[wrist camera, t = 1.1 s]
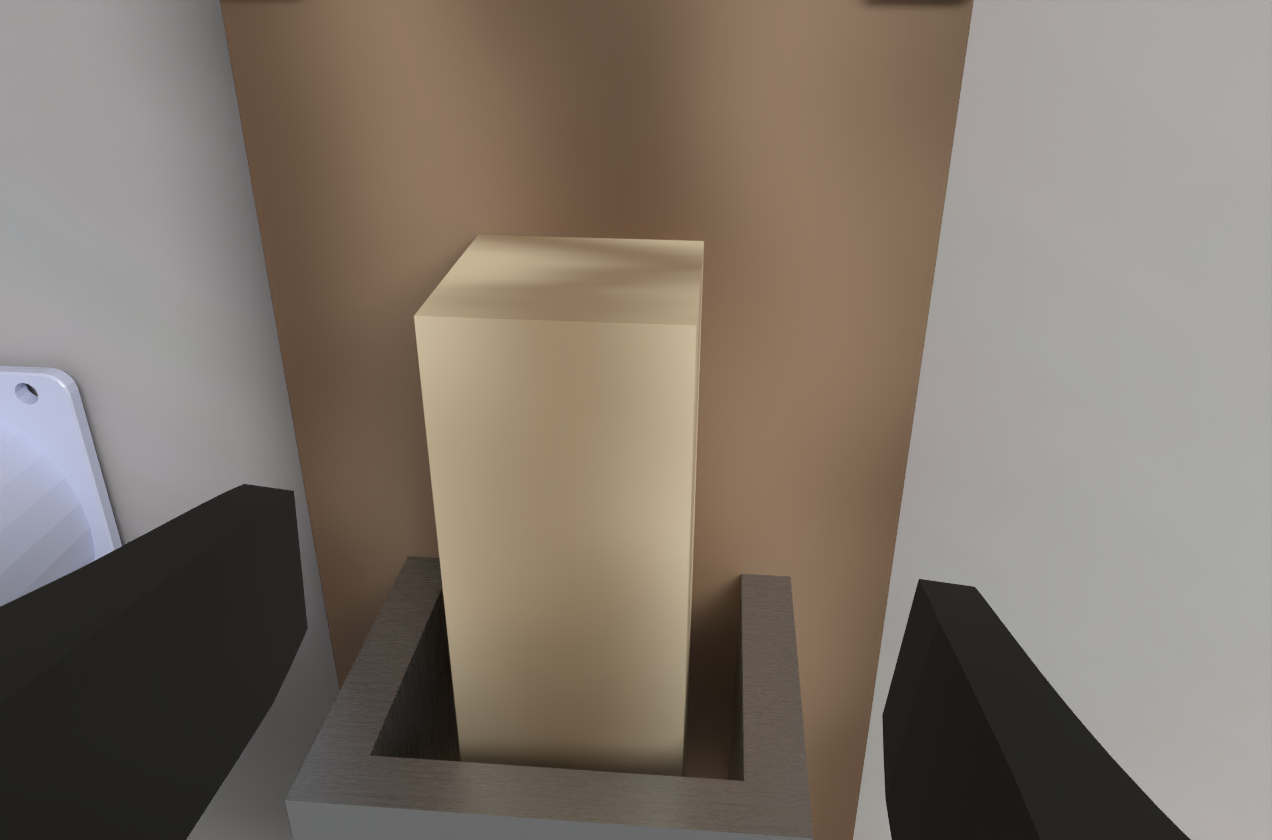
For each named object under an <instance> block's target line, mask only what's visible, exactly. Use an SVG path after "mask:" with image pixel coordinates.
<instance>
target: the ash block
mask: <svg viewBox="0 0 1272 840" xmlns="http://www.w3.org/2000/svg"><path fill="white" fill-rule="evenodd" d="M703 254H704V241H685V240H649V239H612V238H576V237H539V236H502V235H477V237H476V238H475V239H474V241H473V242H472V243H471V244H470V246H469V247H468V248H467V249H466V251H465V252H464V253H463V254H462V256H461V257H460V258H459V259H458V261H457V262H456V263H455V265H454V266H453V267H452V268H451V270H450V271H449V272H448V273H447V275H446V276H445V277H444V278H443V280H442V281H441V282H440V284H439V285H438V286H437V287H436V289H435V290H434V291H433V292H432V294H431V295H430V296H429V297H428V299H427V300H426V301H425V302H424V304H423V305H422V306H421V308H420V309H419V310H418V311H417V313H416V314H415V315H414V322H415V332H416V341H417V351H418V360H419V370H420V379H421V389H422V398H423V407H424V417H425V426H426V436H427V445H428V455H429V464H430V474H431V483H432V492H433V502H434V511H435V521H436V530H437V540H438V549H439V558H440V568H441V577H442V587H443V596H444V606H445V615H446V625H447V634H448V643H449V653H450V662H451V672H452V681H453V691H454V700H455V710H456V719H457V728H458V738H459V747H460V757H461V762H472V763H487V764H501V765H516V766H531V767H545V768H560V769H574V770H589V771H604V772H618V773H633V774H648V775H662V776H677V777H686V757H687V727H688V698H689V668H690V639H691V609H692V579H693V550H694V520H695V491H696V461H697V432H698V402H699V372H700V343H701V313H702V284H703Z"/></svg>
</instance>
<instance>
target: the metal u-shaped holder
mask: <svg viewBox="0 0 1272 840" xmlns="http://www.w3.org/2000/svg"><path fill="white" fill-rule="evenodd" d="M285 804H286V809H287V813H288V818H289V822H290V827H291V831H292V836H293V840H813V830H812V818H811V807H810V795H809V784H808V772H807V760H806V749H805V737H804V726H803V714H802V703H801V691H800V679H799V668H798V656H797V645H796V633H795V622H794V610H793V599H792V587H791V576H774V575H755V574H741V590H740V607H739V623H738V639H737V656H736V672H735V689H734V705H733V721H732V738H731V754H730V771H729V780H721V779H706V778H691V777H677V776H662V775H648V774H633V773H618V772H604V771H589V770H574V769H560V768H545V767H531V766H516V765H501V764H487V763H472V762H461V757H460V747H459V738H458V728H457V719H456V710H455V700H454V691H453V681H452V672H451V662H450V653H449V643H448V634H447V625H446V615H445V606H444V596H443V587H442V577H441V568H440V558H432V557H413V556H408V557H407V559H406V561H405V563H404V565H403V567H402V569H401V571H400V573H399V575H398V577H397V579H396V581H395V583H394V585H393V587H392V589H391V591H390V593H389V595H388V597H387V599H386V601H385V603H384V605H383V607H382V609H381V610H380V612H379V614H378V616H377V618H376V620H375V622H374V624H373V626H372V628H371V630H370V632H369V634H368V636H367V638H366V640H365V642H364V644H363V646H362V648H361V650H360V652H359V654H358V656H357V658H356V660H355V662H354V664H353V666H352V668H351V670H350V672H349V674H348V676H347V678H346V680H345V682H344V684H343V686H342V688H341V690H340V692H339V694H338V696H337V698H336V700H335V702H334V704H333V706H332V708H331V710H330V711H329V713H328V715H327V717H326V719H325V721H324V723H323V725H322V727H321V729H320V731H319V733H318V735H317V737H316V739H315V741H314V743H313V745H312V747H311V749H310V751H309V753H308V755H307V757H306V759H305V761H304V763H303V765H302V767H301V769H300V771H299V773H298V775H297V777H296V779H295V781H294V783H293V785H292V787H291V789H290V791H289V793H288V795H287V797H286V799H285Z"/></svg>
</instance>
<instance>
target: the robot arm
mask: <svg viewBox="0 0 1272 840" xmlns="http://www.w3.org/2000/svg"><path fill="white" fill-rule="evenodd" d="M26 384H29V385H30V386H32V387H33V388H34V389H35V390H36V392H37V394H38V396H35V395H34V394H32V393H31V392H30V391H29V390H28V388H27V386H26ZM306 631H307V619H306V609H305V599H304V589H303V579H302V569H301V559H300V549H299V539H298V529H297V519H296V509H295V499H294V491H290V490H283V489H275V488H268V487H261V486H254V485H247V484H243V485H241V486H238V487H236V488H234V489H232V490H229V491H227V492H225V493H223V494H221V495H219V496H217V497H215V498H213V499H211V500H209V501H207V502H205V503H203V504H201V505H199V506H197V507H195V508H193V509H191V510H190V511H188V512H186V513H184V514H182V515H180V516H178V517H176V518H174V519H173V520H171V521H169V522H167V523H165V524H163V525H161V526H159V527H158V528H156V529H154V530H152V531H150V532H148V533H146V534H144V535H142V536H141V537H139V538H137V539H135V540H133V541H131V542H129V543H127V544H125V545H123V546H122V544H121V540H120V537H119V533H118V530H117V526H116V522H115V519H114V515H113V512H112V508H111V505H110V501H109V497H108V494H107V490H106V487H105V483H104V479H103V476H102V472H101V469H100V465H99V461H98V458H97V454H96V451H95V447H94V444H93V440H92V436H91V433H90V429H89V426H88V422H87V418H86V415H85V411H84V408H83V404H82V401H81V397H80V393H79V390H78V387H77V385H76V383H75V381H74V380H73V379H72V378H71V377H70V376H69V375H68V374H67V373H65V372H63V371H61V370H59V369H55V368H44V367H18V366H0V840H186V839H187V837H188V836H189V834H190V833H191V831H192V830H193V828H194V826H195V825H196V823H197V822H198V820H199V819H200V817H201V816H202V814H203V813H204V811H205V809H206V808H207V806H208V805H209V803H210V802H211V800H212V799H213V797H214V795H215V794H216V792H217V791H218V789H219V788H220V786H221V785H222V783H223V782H224V780H225V778H226V777H227V775H228V774H229V772H230V771H231V769H232V768H233V766H234V764H235V763H236V761H237V760H238V758H239V757H240V755H241V753H242V752H243V750H244V749H245V747H246V746H247V744H248V742H249V741H250V739H251V738H252V736H253V734H254V733H255V731H256V730H257V728H258V727H259V725H260V723H261V722H262V720H263V719H264V717H265V715H266V714H267V712H268V710H269V709H270V707H271V706H272V704H273V702H274V700H275V698H276V696H277V694H278V692H279V690H280V688H281V686H282V683H283V681H284V679H285V677H286V675H287V673H288V671H289V669H290V667H291V664H292V662H293V660H294V658H295V655H296V653H297V651H298V649H299V646H300V644H301V642H302V640H303V637H304V635H305V633H306ZM883 747H884V774H885V794H886V805H887V811H888V818H889V824H890V830H891V837H892V840H1190V839H1189V838H1188V837H1187V836H1186V835H1185V834H1184V833H1183V832H1182V831H1181V830H1180V829H1179V828H1178V827H1177V826H1176V825H1175V824H1174V823H1173V822H1172V821H1171V820H1170V819H1169V818H1168V817H1167V816H1166V815H1165V814H1164V813H1163V812H1162V811H1161V810H1160V809H1159V808H1158V807H1157V806H1156V805H1155V804H1154V802H1153V801H1152V800H1151V799H1150V798H1149V797H1148V796H1147V795H1146V794H1145V793H1144V792H1143V791H1142V789H1141V788H1140V787H1139V786H1138V785H1137V784H1136V783H1135V782H1134V781H1133V780H1132V779H1131V778H1130V777H1129V775H1128V774H1127V773H1126V772H1125V771H1124V770H1123V769H1122V768H1121V767H1120V766H1119V765H1118V764H1117V762H1116V761H1115V760H1114V759H1113V758H1112V757H1111V756H1110V755H1109V754H1108V752H1107V751H1106V750H1105V749H1104V748H1103V747H1102V746H1101V744H1100V743H1099V742H1098V741H1097V740H1096V739H1095V738H1094V736H1093V735H1092V734H1091V733H1090V732H1089V731H1088V729H1087V728H1086V727H1085V726H1084V725H1083V724H1082V722H1081V721H1080V720H1079V719H1078V718H1077V716H1076V715H1075V714H1074V713H1073V712H1072V710H1071V709H1070V708H1069V707H1068V706H1067V704H1066V703H1065V702H1064V701H1063V699H1062V698H1061V697H1060V696H1059V695H1058V693H1057V692H1056V691H1055V690H1054V688H1053V687H1052V686H1051V685H1050V683H1049V682H1048V681H1047V680H1046V678H1045V677H1044V676H1043V675H1042V673H1041V672H1040V671H1039V670H1038V668H1037V667H1036V666H1035V664H1034V663H1033V662H1032V661H1031V659H1030V658H1029V657H1028V655H1027V654H1026V653H1025V652H1024V650H1023V649H1022V648H1021V646H1020V645H1019V644H1018V642H1017V641H1016V640H1015V638H1014V637H1013V636H1012V635H1011V633H1010V632H1009V631H1008V629H1007V628H1006V627H1005V625H1004V624H1003V623H1002V621H1001V620H1000V619H999V617H998V616H997V615H996V613H995V612H994V611H993V610H992V608H991V607H990V606H989V604H988V603H987V602H986V600H985V599H984V598H983V597H982V595H981V594H980V593H979V591H978V590H977V589H976V588H975V587H972V586H965V585H958V584H951V583H944V582H936V581H929V580H922V579H919V581H918V585H917V588H916V592H915V596H914V600H913V603H912V607H911V611H910V615H909V618H908V622H907V626H906V630H905V633H904V637H903V641H902V645H901V648H900V652H899V656H898V660H897V663H896V667H895V671H894V675H893V678H892V682H891V686H890V690H889V693H888V697H887V701H886V705H885V708H884V712H883Z"/></svg>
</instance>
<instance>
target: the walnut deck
mask: <svg viewBox="0 0 1272 840" xmlns="http://www.w3.org/2000/svg"><path fill="white" fill-rule="evenodd" d="M973 1H974V0H220V3H221V9H222V14H223V20H224V26H225V32H226V37H227V43H228V49H229V55H230V60H231V66H232V72H233V78H234V83H235V89H236V95H237V101H238V107H239V112H240V118H241V124H242V130H243V135H244V141H245V147H246V153H247V158H248V164H249V170H250V176H251V181H252V187H253V193H254V199H255V205H256V210H257V216H258V222H259V228H260V233H261V239H262V245H263V251H264V256H265V262H266V268H267V274H268V279H269V285H270V291H271V297H272V303H273V308H274V314H275V320H276V326H277V331H278V337H279V343H280V349H281V354H282V360H283V366H284V372H285V377H286V383H287V389H288V395H289V401H290V406H291V412H292V418H293V424H294V429H295V435H296V441H297V447H298V452H299V458H300V464H301V470H302V475H303V481H304V487H305V493H306V499H307V504H308V510H309V516H310V522H311V527H312V533H313V539H314V545H315V550H316V556H317V562H318V568H319V573H320V579H321V585H322V591H323V597H324V602H325V608H326V614H327V620H328V625H329V631H330V637H331V643H332V648H333V654H334V660H335V666H336V671H337V677H338V683H339V689H340V690H341V688H342V686H343V684H344V682H345V680H346V678H347V676H348V674H349V672H350V670H351V668H352V666H353V664H354V662H355V660H356V658H357V656H358V654H359V652H360V650H361V648H362V646H363V644H364V642H365V640H366V638H367V636H368V634H369V632H370V630H371V628H372V626H373V624H374V622H375V620H376V618H377V616H378V614H379V612H380V610H381V609H382V607H383V605H384V603H385V601H386V599H387V597H388V595H389V593H390V591H391V589H392V587H393V585H394V583H395V581H396V579H397V577H398V575H399V573H400V571H401V569H402V567H403V565H404V563H405V561H406V559H407V557H408V556H413V557H432V558H439V549H438V540H437V530H436V521H435V511H434V502H433V492H432V483H431V474H430V464H429V455H428V445H427V436H426V426H425V417H424V407H423V398H422V389H421V379H420V370H419V360H418V351H417V341H416V332H415V322H414V315H415V314H416V313H417V311H418V310H419V309H420V308H421V306H422V305H423V304H424V302H425V301H426V300H427V299H428V297H429V296H430V295H431V294H432V292H433V291H434V290H435V289H436V287H437V286H438V285H439V284H440V282H441V281H442V280H443V278H444V277H445V276H446V275H447V273H448V272H449V271H450V270H451V268H452V267H453V266H454V265H455V263H456V262H457V261H458V259H459V258H460V257H461V256H462V254H463V253H464V252H465V251H466V249H467V248H468V247H469V246H470V244H471V243H472V242H473V241H474V239H475V238H476V237H477V235H502V236H539V237H576V238H612V239H649V240H685V241H704V254H703V284H702V313H701V343H700V372H699V402H698V432H697V461H696V491H695V520H694V550H693V579H692V609H691V639H690V668H689V698H688V727H687V757H686V777H691V778H706V779H721V780H729V771H730V754H731V738H732V721H733V705H734V689H735V672H736V656H737V639H738V623H739V607H740V590H741V574H755V575H774V576H791V587H792V599H793V610H794V622H795V633H796V645H797V656H798V668H799V679H800V691H801V703H802V714H803V726H804V737H805V749H806V760H807V772H808V784H809V795H810V807H811V818H812V830H813V840H853V834H854V827H855V820H856V813H857V806H858V799H859V792H860V785H861V779H862V772H863V765H864V758H865V751H866V744H867V737H868V730H869V723H870V716H871V709H872V702H873V695H874V688H875V681H876V674H877V667H878V660H879V654H880V647H881V640H882V633H883V626H884V619H885V612H886V605H887V598H888V591H889V584H890V577H891V570H892V563H893V556H894V549H895V542H896V535H897V528H898V522H899V515H900V508H901V501H902V494H903V487H904V480H905V473H906V466H907V459H908V452H909V445H910V438H911V431H912V424H913V417H914V410H915V403H916V397H917V390H918V383H919V376H920V369H921V362H922V355H923V348H924V341H925V334H926V327H927V320H928V313H929V306H930V299H931V292H932V285H933V278H934V272H935V265H936V258H937V251H938V244H939V237H940V230H941V223H942V216H943V209H944V202H945V195H946V188H947V181H948V174H949V167H950V160H951V153H952V147H953V140H954V133H955V126H956V119H957V112H958V105H959V98H960V91H961V84H962V77H963V70H964V63H965V56H966V49H967V42H968V35H969V28H970V22H971V15H972V8H973Z"/></svg>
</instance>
